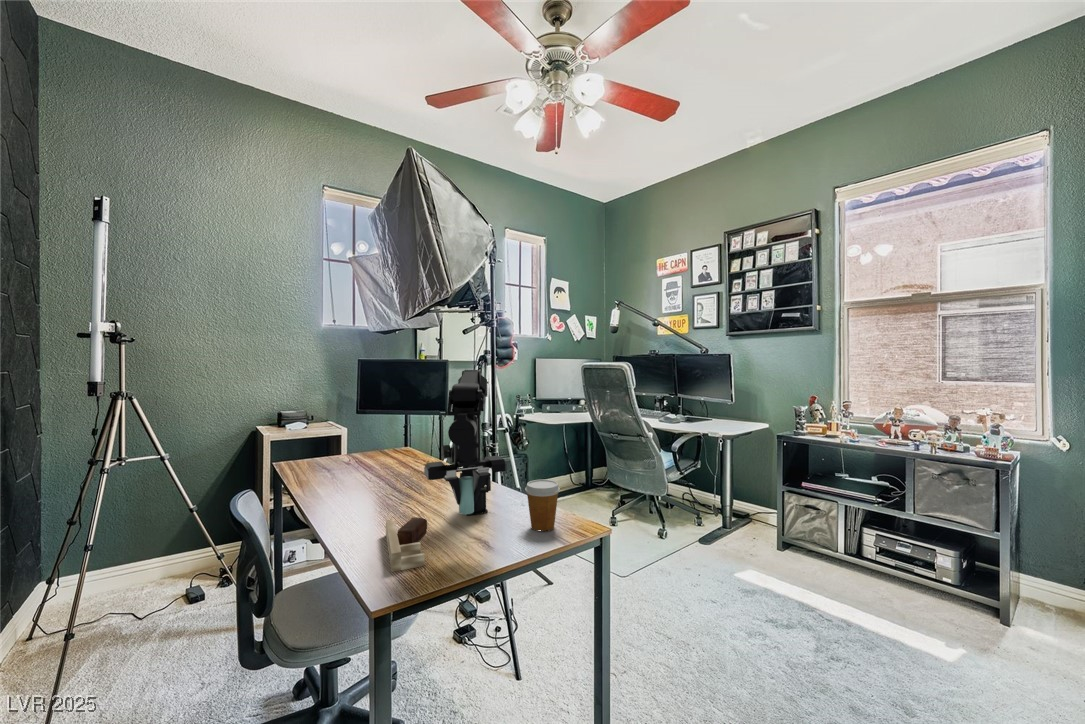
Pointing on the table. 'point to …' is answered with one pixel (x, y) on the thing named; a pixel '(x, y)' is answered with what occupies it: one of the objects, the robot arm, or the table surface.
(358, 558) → the table surface
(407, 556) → the backstop fence
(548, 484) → the disposable coffee cup
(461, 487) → the dowel
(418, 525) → the brick
